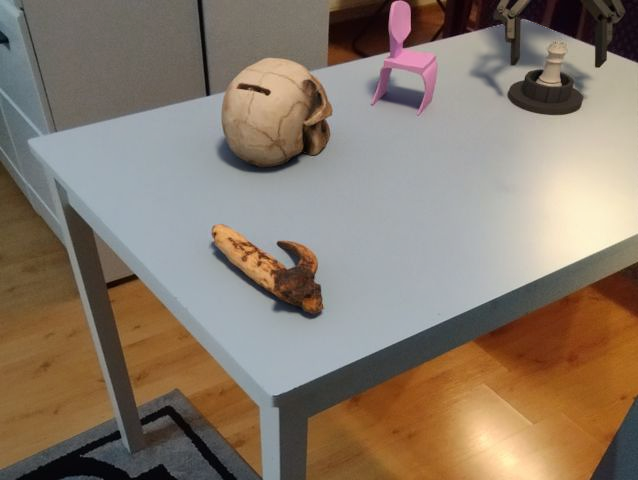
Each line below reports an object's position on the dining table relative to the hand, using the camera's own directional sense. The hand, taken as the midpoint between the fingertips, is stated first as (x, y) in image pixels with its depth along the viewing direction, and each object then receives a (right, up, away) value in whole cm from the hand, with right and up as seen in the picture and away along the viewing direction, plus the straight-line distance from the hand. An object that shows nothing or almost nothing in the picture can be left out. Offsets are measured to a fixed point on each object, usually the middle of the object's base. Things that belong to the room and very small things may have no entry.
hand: (558, 63), depth 108 cm
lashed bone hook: (-43, -37, -30) cm, 64 cm away
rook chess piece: (0, -3, +5) cm, 6 cm away
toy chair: (-24, -5, +4) cm, 25 cm away
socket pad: (0, -4, +6) cm, 7 cm away
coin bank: (-43, -16, -8) cm, 47 cm away
